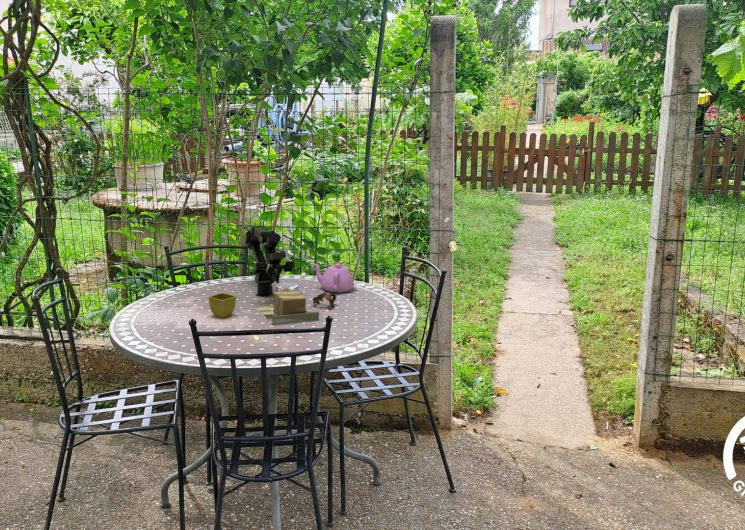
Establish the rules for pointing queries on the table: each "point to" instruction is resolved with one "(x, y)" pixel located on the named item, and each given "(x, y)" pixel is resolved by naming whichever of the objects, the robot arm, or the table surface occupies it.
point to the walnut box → (288, 302)
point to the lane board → (287, 316)
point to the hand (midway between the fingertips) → (277, 282)
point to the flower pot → (222, 304)
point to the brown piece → (327, 297)
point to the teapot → (335, 278)
